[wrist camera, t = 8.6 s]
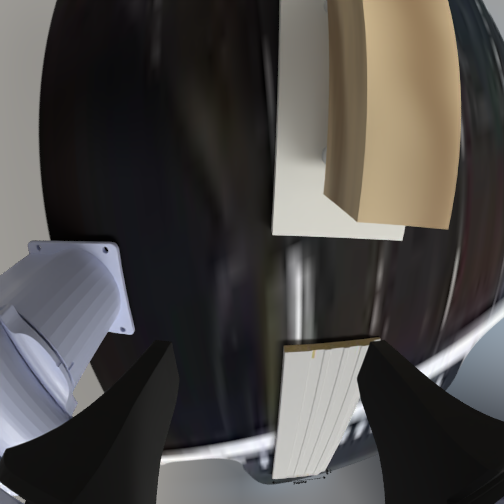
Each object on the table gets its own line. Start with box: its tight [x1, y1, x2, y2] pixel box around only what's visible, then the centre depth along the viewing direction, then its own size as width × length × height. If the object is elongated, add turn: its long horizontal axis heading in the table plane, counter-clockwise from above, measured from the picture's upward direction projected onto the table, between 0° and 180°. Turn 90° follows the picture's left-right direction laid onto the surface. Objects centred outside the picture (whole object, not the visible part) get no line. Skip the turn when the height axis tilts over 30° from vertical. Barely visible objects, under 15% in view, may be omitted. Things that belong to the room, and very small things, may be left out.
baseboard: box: [272, 337, 380, 484], centre depth 27 cm, size 30×3×10 cm
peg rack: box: [271, 0, 405, 241], centre depth 13 cm, size 9×20×3 cm, turn 178°
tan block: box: [323, 0, 461, 229], centre depth 9 cm, size 4×14×5 cm, turn 179°
